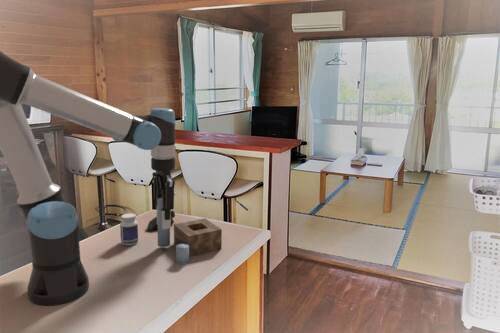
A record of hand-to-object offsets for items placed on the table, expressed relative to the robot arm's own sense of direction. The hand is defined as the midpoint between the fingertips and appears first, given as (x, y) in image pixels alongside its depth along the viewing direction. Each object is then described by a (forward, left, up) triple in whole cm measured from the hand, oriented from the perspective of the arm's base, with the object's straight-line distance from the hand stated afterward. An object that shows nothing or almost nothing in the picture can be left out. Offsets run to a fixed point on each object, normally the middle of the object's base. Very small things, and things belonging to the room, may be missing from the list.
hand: (163, 225), depth 141 cm
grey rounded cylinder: (+1, -12, -8) cm, 14 cm away
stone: (+6, +19, -8) cm, 22 cm away
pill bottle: (-9, +10, -8) cm, 16 cm away
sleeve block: (+10, -4, -8) cm, 14 cm away
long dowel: (0, 0, -7) cm, 7 cm away
